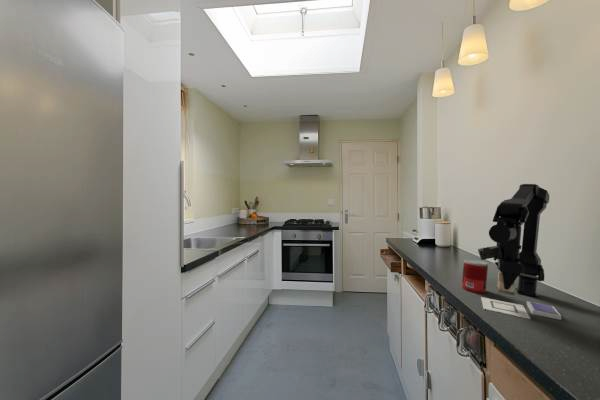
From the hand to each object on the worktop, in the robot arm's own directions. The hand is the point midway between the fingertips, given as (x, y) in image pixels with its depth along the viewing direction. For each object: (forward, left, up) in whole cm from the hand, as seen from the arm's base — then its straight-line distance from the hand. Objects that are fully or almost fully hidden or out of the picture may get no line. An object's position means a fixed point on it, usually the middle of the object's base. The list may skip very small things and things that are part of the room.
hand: (505, 287), depth 96 cm
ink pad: (-4, +11, -7) cm, 13 cm away
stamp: (0, 0, -2) cm, 2 cm away
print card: (0, 0, -7) cm, 7 cm away
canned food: (-15, -8, -7) cm, 18 cm away
